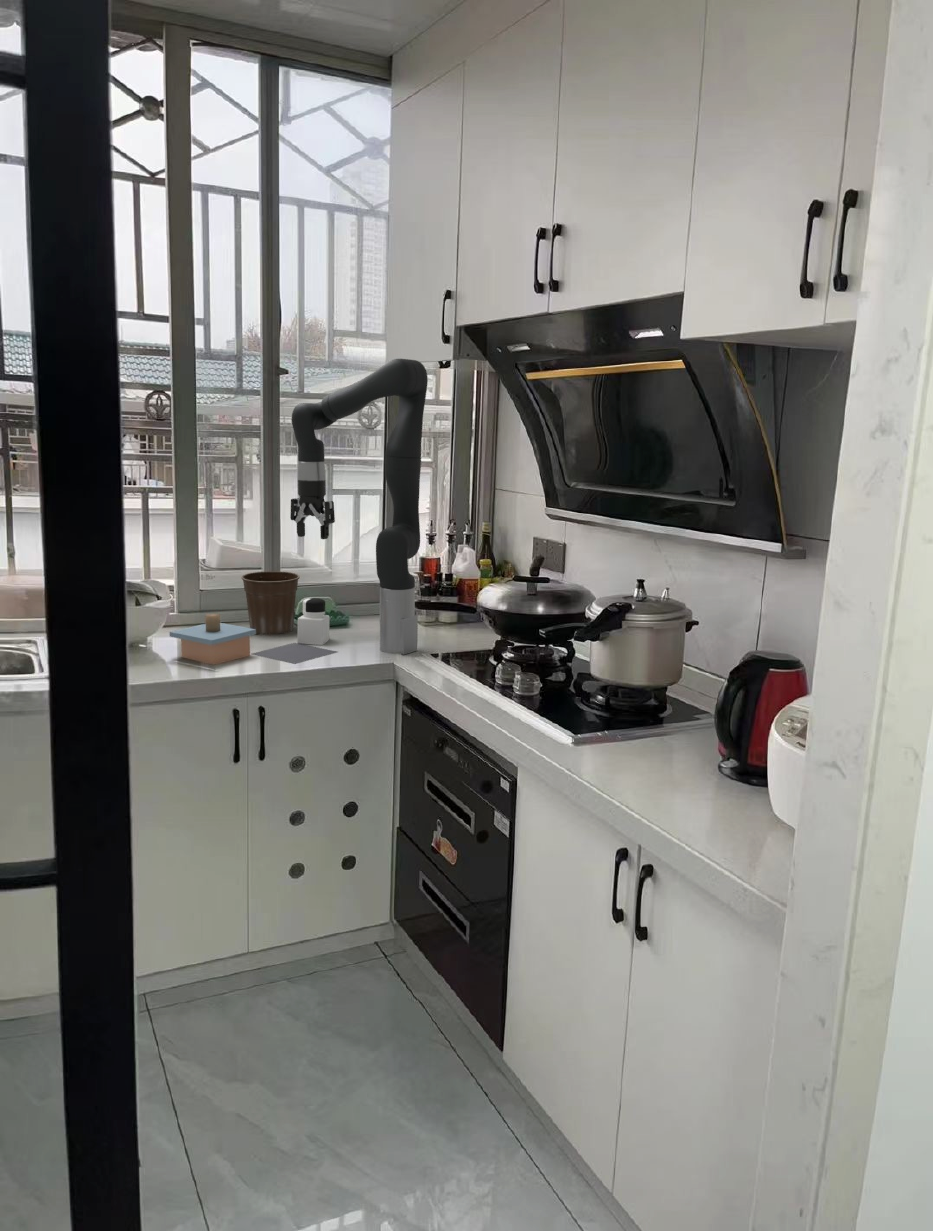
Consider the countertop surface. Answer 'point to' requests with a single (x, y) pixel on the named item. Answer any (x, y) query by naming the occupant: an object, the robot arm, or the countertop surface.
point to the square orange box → (216, 650)
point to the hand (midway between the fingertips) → (312, 537)
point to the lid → (212, 631)
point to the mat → (294, 653)
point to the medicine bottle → (313, 623)
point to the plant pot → (271, 601)
